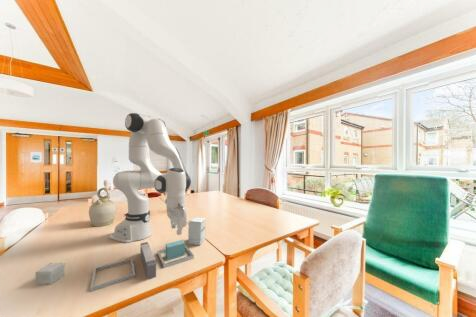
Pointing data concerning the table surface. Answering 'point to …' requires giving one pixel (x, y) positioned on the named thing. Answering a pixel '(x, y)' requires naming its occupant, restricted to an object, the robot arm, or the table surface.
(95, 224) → the jug
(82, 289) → the table surface
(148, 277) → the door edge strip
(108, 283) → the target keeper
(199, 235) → the supplement box
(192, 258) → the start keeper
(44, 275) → the small box
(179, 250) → the teal rectangular block
